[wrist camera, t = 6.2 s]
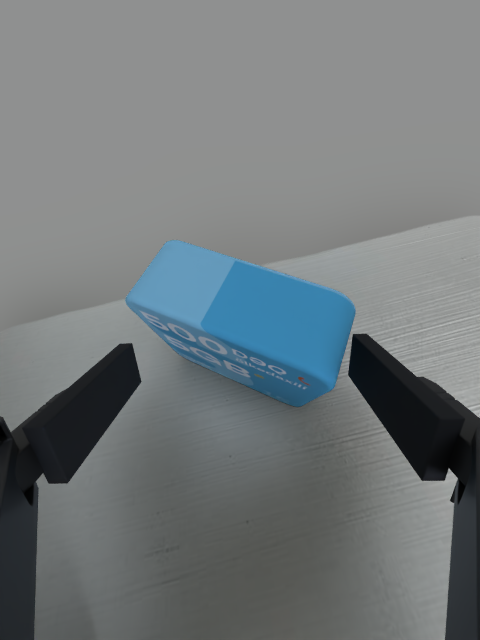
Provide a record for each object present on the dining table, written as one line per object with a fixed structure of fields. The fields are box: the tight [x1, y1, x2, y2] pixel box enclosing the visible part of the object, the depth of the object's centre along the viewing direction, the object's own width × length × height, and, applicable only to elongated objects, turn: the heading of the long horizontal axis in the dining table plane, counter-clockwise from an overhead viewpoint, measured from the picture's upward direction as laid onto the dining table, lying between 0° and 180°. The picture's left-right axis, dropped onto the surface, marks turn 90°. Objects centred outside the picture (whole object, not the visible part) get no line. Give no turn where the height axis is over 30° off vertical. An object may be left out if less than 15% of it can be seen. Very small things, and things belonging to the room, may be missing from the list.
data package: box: [125, 240, 356, 407], centre depth 17 cm, size 12×4×12 cm, turn 66°
